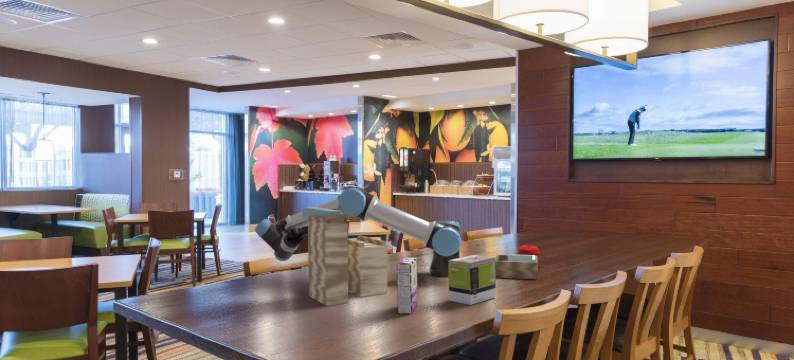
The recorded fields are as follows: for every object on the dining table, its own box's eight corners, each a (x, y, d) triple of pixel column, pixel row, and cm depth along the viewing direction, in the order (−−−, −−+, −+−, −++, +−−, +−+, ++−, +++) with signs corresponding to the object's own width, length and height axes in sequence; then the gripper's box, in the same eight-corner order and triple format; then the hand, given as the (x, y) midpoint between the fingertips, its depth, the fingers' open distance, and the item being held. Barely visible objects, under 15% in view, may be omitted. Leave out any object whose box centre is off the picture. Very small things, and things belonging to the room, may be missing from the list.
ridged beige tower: (387, 293, 200) (386, 241, 200) (360, 297, 195) (360, 243, 194) (361, 283, 219) (360, 235, 219) (336, 286, 214) (335, 237, 213)
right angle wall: (507, 270, 244) (507, 254, 244) (535, 272, 241) (535, 255, 241) (506, 276, 232) (506, 258, 232) (534, 277, 229) (534, 259, 229)
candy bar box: (403, 305, 183) (402, 257, 183) (417, 305, 182) (417, 257, 182) (396, 313, 172) (396, 262, 172) (412, 314, 171) (411, 263, 171)
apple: (518, 268, 249) (518, 245, 249) (517, 264, 259) (517, 242, 259) (540, 268, 248) (540, 245, 248) (538, 265, 257) (538, 242, 257)
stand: (348, 302, 186) (347, 213, 186) (326, 306, 182) (325, 214, 182) (329, 293, 201) (328, 210, 200) (308, 296, 197) (308, 211, 196)
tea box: (474, 293, 199) (473, 254, 199) (496, 298, 192) (496, 257, 192) (447, 300, 189) (447, 258, 188) (470, 305, 181) (470, 262, 181)
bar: (340, 222, 186) (340, 210, 186) (329, 223, 184) (329, 211, 184) (312, 216, 209) (312, 206, 209) (302, 217, 207) (302, 207, 207)
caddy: (537, 271, 242) (537, 255, 241) (537, 279, 224) (537, 262, 224) (496, 269, 246) (496, 254, 246) (493, 277, 229) (493, 261, 229)
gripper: (321, 245, 228) (338, 224, 211) (263, 250, 215) (276, 228, 199) (318, 229, 231) (334, 207, 215) (260, 233, 218) (273, 210, 202)
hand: (306, 217), depth 207 cm, fingers open, 13 cm apart
